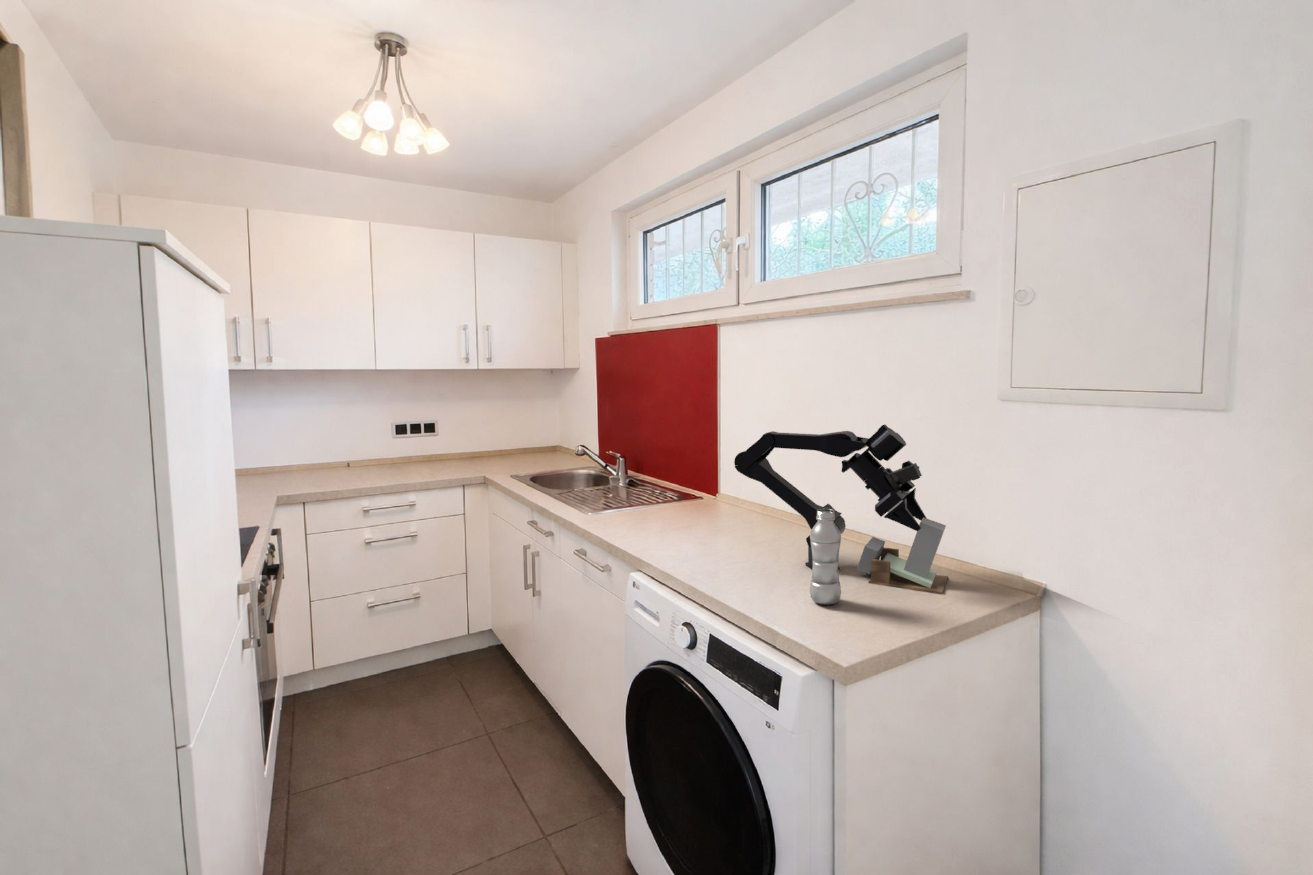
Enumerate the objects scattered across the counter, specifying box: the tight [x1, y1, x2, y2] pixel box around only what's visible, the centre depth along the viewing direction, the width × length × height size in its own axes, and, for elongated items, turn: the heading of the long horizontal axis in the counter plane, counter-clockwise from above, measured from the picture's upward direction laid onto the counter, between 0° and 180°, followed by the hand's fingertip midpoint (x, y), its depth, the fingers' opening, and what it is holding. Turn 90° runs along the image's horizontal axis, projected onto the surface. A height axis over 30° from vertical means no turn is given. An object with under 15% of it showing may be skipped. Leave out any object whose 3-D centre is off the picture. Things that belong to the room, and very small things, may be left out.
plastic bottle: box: [809, 509, 842, 606], centre depth 129 cm, size 6×7×20 cm
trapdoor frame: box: [868, 547, 949, 595], centre depth 142 cm, size 16×12×6 cm
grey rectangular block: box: [904, 517, 947, 579], centre depth 140 cm, size 5×5×12 cm
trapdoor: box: [856, 536, 938, 588], centre depth 143 cm, size 16×9×6 cm, turn 59°
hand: (922, 525), depth 139 cm, fingers open, 9 cm apart
